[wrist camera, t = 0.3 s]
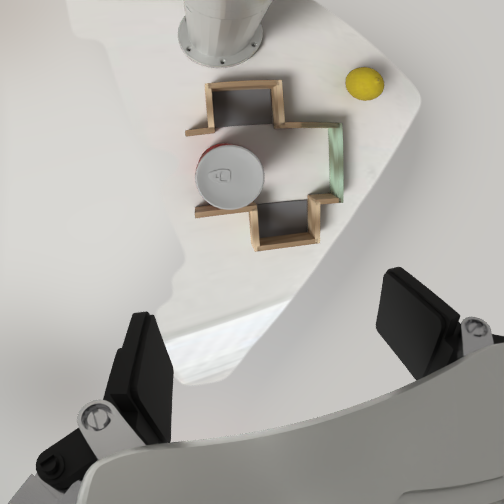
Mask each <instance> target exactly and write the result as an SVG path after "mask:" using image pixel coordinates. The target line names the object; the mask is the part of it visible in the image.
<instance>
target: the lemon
mask: <svg viewBox="0 0 504 504" xmlns="http://www.w3.org/2000/svg"><path fill="white" fill-rule="evenodd" d="M346 88H347V90H348V92H349V93H350V94H351V95H352V96H353V97H355V98H357V99H359V100H364V101H366V100H372V99H375V98H377V97H378V96H379V95H381V93H382V92H383V89H384V81H383V78H382V76H381V75H380V74H379V73H378V72H377V71H375V70H374V69H371V68H367V67H361V68H356V69H354V70H352V71H351V72H350V73H349V74H348V75H347V77H346Z"/></svg>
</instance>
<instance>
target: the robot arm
mask: <svg viewBox="0 0 504 504" xmlns="http://www.w3.org/2000/svg"><path fill="white" fill-rule="evenodd" d="M183 1H184V8H185V16H184V18H183V19H182V21H181V23H180V25H179V28H178V40H179V44H180V47H181V49H182V50H183V52H184V53H185V54H186V55H187V57H188V58H190V59H191V60H193V61H194V62H196V63H198V64H200V65H203V66H207V67H212V68H226V67H231V66H235V65H238V64H240V63H242V62H244V61H246V60H247V59H249V58H250V57H251V56H252V55H253V54H254V53H255V52H256V50H257V49H258V47H259V46H260V43H261V41H262V36H263V29H262V25H261V20H262V18H263V17H264V15H265V13H266V11H267V10H268V8H269V6H270V4H271V3H272V1H273V0H183ZM252 45H254V46H255V47H252ZM189 49H190V50H191V51H188V50H189ZM221 62H224V64H221ZM459 318H460V315H459V314H458V313H457V312H456V311H455V310H453V309H452V308H451V307H450V306H449V305H448V304H446V303H445V302H444V301H443V300H442V299H441V298H439V297H438V296H437V295H436V294H434V293H433V292H432V291H431V290H429V289H428V288H427V287H426V286H425V285H423V284H422V283H421V282H419V281H418V280H417V279H416V278H414V277H413V276H412V275H410V274H409V273H408V272H407V271H405V270H404V269H403V268H401V267H396V268H392V269H388V270H387V272H386V274H384V277H383V284H382V291H381V297H380V304H379V310H378V315H377V321H376V329H377V331H378V333H379V334H380V335H381V336H382V338H383V339H384V340H385V341H386V342H387V344H388V345H389V346H390V347H391V349H392V350H393V351H394V352H395V354H396V355H397V356H398V358H399V359H400V360H401V361H402V363H403V364H404V365H405V366H406V368H407V369H408V370H409V372H410V373H411V374H412V376H413V377H414V378H415V379H416V380H417V381H415V382H413V383H411V384H408V385H406V386H404V387H402V388H400V389H397V390H395V391H392V392H390V393H387V394H385V395H382V396H380V397H378V398H375V399H372V400H370V401H367V402H364V403H361V404H359V405H356V406H353V407H350V408H347V409H344V410H341V411H338V412H334V413H331V414H328V415H324V416H321V417H317V418H314V419H310V420H306V421H303V422H299V423H295V424H291V425H286V426H282V427H278V428H273V429H268V430H263V431H258V432H252V433H246V434H240V435H234V436H227V437H220V438H212V439H203V440H193V441H182V442H172V443H170V441H171V414H172V391H173V390H172V389H173V374H174V372H173V366H172V363H171V360H170V358H169V355H168V353H167V350H166V347H165V345H164V342H163V339H162V336H161V334H160V331H159V328H158V325H157V322H156V319H155V317H154V315H150V314H149V313H148V312H140V313H134V314H133V315H132V318H131V321H130V324H129V327H128V330H127V333H126V337H125V340H124V343H123V346H122V348H120V349H118V350H117V353H116V356H115V359H114V362H113V366H112V369H111V373H110V376H109V380H108V383H107V387H106V391H105V395H104V398H103V400H95V401H92V402H89V403H87V404H86V405H85V406H84V407H83V408H82V409H81V410H80V412H79V414H78V417H77V423H78V426H79V428H77V429H76V430H75V431H73V432H72V433H70V434H69V435H67V436H66V437H64V438H63V439H61V440H60V441H58V442H57V443H55V444H54V445H52V446H51V447H49V448H48V449H46V450H45V451H43V452H42V453H41V454H40V455H39V457H38V459H37V462H36V471H37V474H36V475H35V476H34V475H33V474H31V475H30V476H29V478H28V479H27V480H26V481H25V483H24V484H23V485H22V486H21V488H20V489H19V490H18V491H17V493H16V494H15V495H14V496H13V498H12V499H11V500H10V501H9V503H8V504H504V336H499V335H494V334H492V333H491V329H490V326H489V325H488V324H487V323H486V322H485V321H484V320H482V319H480V318H476V317H468V318H465V319H464V320H463V321H462V323H461V324H460V323H459V322H458V321H459Z"/></svg>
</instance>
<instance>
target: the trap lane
mask: <svg viewBox="0 0 504 504" xmlns="http://www.w3.org/2000/svg"><path fill="white" fill-rule="evenodd" d="M270 89H271V96H272V109H273V123H274V129H277V128H328V135H329V167H330V193H327V194H314V195H308V232H307V200H299V201H288V202H277V203H267V204H258V205H256V203H255V202H254V201H253V202H251V203H250V204H248V205H247V206H244V207H242V208H239V209H234V210H226V209H220V208H217V207H214V206H213V205H207V206H199V207H195V218H201V217H209V216H216V215H224V214H233V213H241V212H249V220H250V233H251V244H252V246H253V248H254V251H255V252H256V251H264V250H271V249H279V248H286V247H294V246H301V245H309V244H317V243H320V204H331V203H343V131H342V123H330V122H285V116H284V102H283V90H282V80H250V81H231V82H218V83H207V84H205V95H206V107H207V119H208V128H201V129H193V130H186V131H185V135H186V136H194V135H202V134H211V133H215V128H218V127H228V126H240V125H255V124H273V123H272V109H271V96H270ZM212 96H213V103H212ZM213 109H214V116H213ZM214 121H215V127H214Z"/></svg>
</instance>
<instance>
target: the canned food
mask: <svg viewBox="0 0 504 504" xmlns="http://www.w3.org/2000/svg"><path fill="white" fill-rule="evenodd" d="M195 182H196V186H197V189H198V191H199V193H200V195H201V196H202V197H203V198H204V200H206V201H207V202H208V203H209V204H211V205H213V206H214V207H217V208H220V209H226V210H234V209H239V208H242V207H244V206H247V205H248V204H250V203H251V202H253V201H254V200H255V199H256V198H257V197H258V195H259V194H260V192H261V190H262V188H263V185H264V170H263V166H262V164H261V162H260V161H259V159H258V158H257V156H256V155H255V154H254V153H252V152H251V151H250V150H248V149H246V148H244V147H241V146H239V145H233V144H227V143H224V144H217V145H214V146H212V147H210V148H209V149H207V150H206V151H205V152H204V153H203V154H202V156H201V157H200V160H199V162H198V165H197V168H196V173H195Z"/></svg>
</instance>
